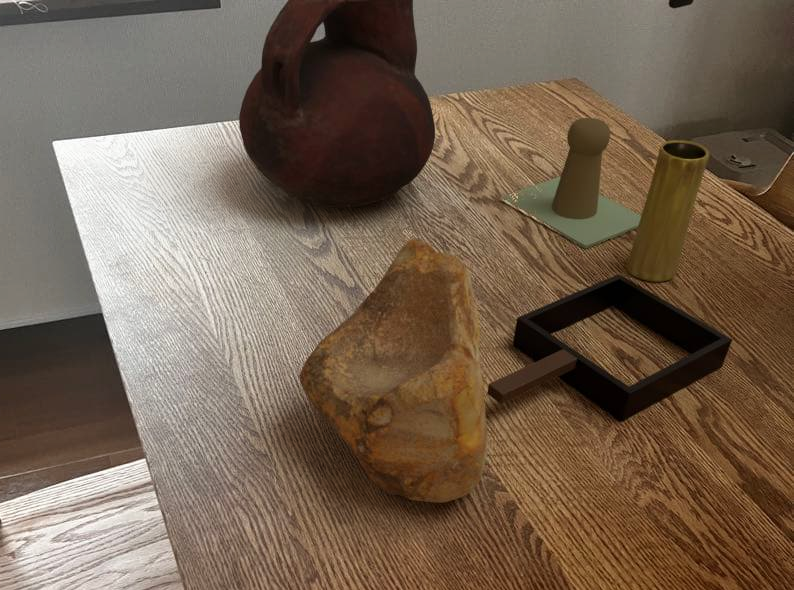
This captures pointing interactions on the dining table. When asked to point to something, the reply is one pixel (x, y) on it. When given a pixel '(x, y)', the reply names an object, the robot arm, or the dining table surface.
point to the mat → (581, 231)
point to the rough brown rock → (408, 379)
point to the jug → (339, 103)
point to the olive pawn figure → (582, 169)
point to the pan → (592, 379)
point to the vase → (667, 211)
